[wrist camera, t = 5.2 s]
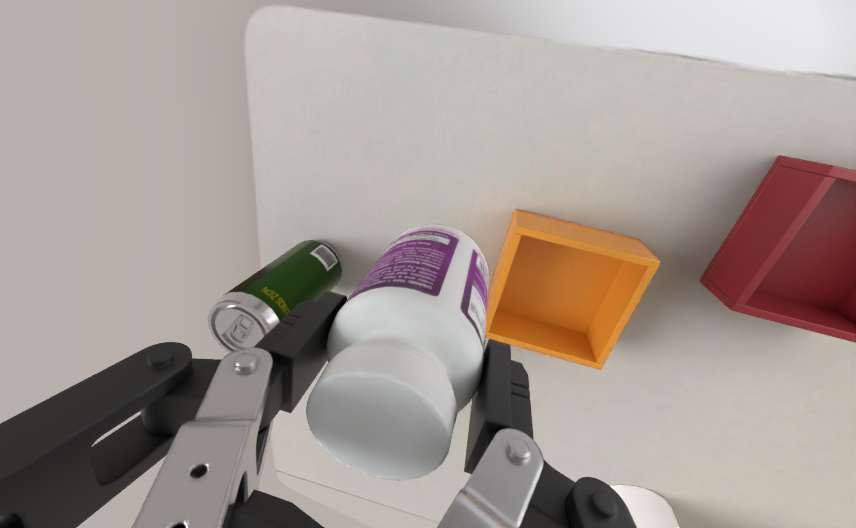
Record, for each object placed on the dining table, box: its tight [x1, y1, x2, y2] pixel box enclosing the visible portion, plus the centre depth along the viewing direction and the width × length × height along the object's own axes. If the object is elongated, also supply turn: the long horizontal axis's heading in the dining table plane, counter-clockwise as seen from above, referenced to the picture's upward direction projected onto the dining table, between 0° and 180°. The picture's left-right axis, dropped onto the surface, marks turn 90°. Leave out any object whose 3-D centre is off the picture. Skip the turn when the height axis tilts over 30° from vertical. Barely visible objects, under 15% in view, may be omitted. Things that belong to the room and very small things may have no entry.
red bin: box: [700, 156, 856, 342], centre depth 24 cm, size 10×10×4 cm
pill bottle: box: [306, 224, 489, 480], centre depth 13 cm, size 5×5×10 cm
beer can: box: [208, 240, 342, 353], centre depth 30 cm, size 5×5×12 cm
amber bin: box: [485, 209, 661, 370], centre depth 29 cm, size 10×10×4 cm
